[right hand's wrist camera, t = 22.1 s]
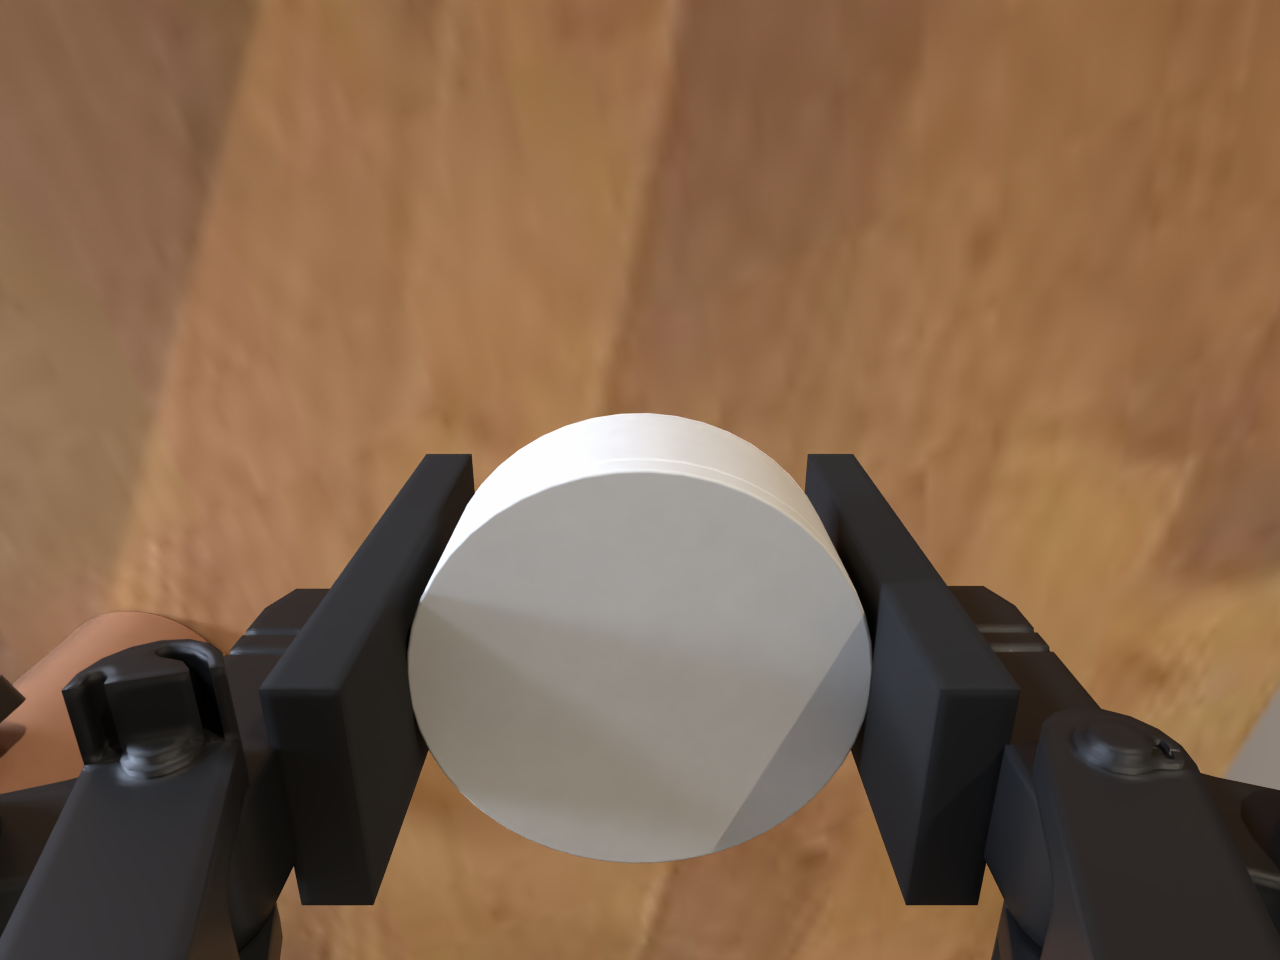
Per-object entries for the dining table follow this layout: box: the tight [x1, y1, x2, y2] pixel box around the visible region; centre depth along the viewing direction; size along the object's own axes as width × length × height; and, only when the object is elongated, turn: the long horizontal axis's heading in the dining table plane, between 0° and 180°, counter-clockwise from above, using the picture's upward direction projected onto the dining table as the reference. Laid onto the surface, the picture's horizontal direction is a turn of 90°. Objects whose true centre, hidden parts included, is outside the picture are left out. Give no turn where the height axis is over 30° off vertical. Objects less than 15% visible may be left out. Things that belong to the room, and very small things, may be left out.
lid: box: [407, 413, 873, 863], centre depth 11 cm, size 6×6×2 cm
